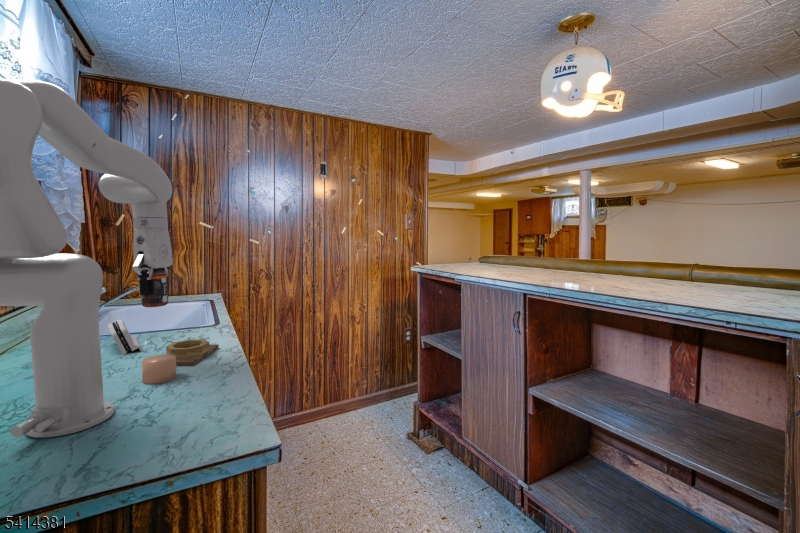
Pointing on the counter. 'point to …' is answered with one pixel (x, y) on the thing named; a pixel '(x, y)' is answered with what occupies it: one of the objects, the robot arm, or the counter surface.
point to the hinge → (123, 337)
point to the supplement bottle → (157, 290)
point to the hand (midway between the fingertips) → (154, 292)
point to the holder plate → (195, 359)
